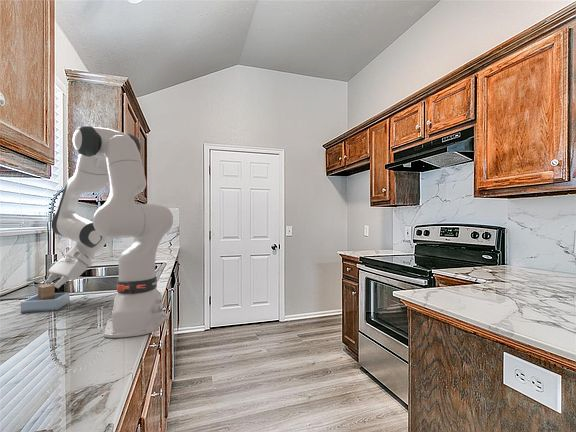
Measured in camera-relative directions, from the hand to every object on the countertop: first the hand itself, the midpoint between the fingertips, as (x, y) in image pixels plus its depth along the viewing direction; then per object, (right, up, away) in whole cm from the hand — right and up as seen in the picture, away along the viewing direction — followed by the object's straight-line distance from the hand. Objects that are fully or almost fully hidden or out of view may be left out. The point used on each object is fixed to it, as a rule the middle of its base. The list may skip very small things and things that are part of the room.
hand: (50, 285), depth 128 cm
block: (-1, -7, -1) cm, 7 cm away
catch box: (-1, -8, -1) cm, 8 cm away
